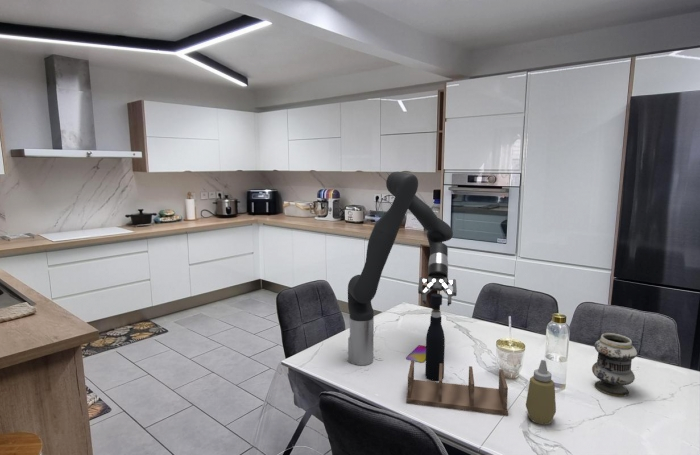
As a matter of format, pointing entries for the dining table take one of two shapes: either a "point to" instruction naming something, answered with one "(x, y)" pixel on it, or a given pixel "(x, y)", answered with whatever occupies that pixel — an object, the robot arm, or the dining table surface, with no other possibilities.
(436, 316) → the black bottle
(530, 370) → the dining table surface
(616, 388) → the apothecary jar
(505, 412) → the slot rack
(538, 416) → the squeeze bottle
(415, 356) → the smartphone
